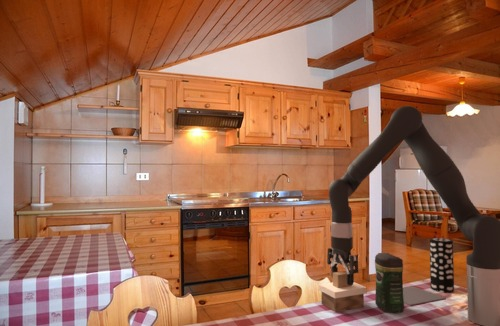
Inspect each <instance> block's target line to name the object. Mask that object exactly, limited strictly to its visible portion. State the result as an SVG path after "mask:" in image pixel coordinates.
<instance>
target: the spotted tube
mask: <svg viewBox="0 0 500 326" xmlns="http://www.w3.org/2000/svg"><path fill="white" fill-rule="evenodd" d="M429 273H430V276H429V277H430V278H429V279H430V280H429V281H430V289H431V290H432V291H435V292H439V293H444V294H445V293H446V294H450V293H451V294H452V293H454V292H455V269H454V240H453V239H450V238H444V237H430V238H429Z"/></svg>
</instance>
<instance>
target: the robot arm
mask: <svg viewBox="0 0 500 326" xmlns="http://www.w3.org/2000/svg"><path fill="white" fill-rule="evenodd" d="M389 119H390V120H389V121H388V123H387V125H386V126H385V127H384V128H383V130H382V131H381V133H379V135H377V137H376V138H375V139H374V140H373V141H372V142H371V143H370V144H369V145H368V146H367V147H366V148H364V149H363V150H362V151H361V152H360V153H359V154H358V156H356V157H355V158H354V160H353V161H352V162H351V163H350V164H349V166H348V167H347V169H346V172H345V173H344V175H343V176H341V178H336V179H334V180H332V181H331V182H330V184H329V187H328V199H329V204H330V208H331V225H330V248H327V261H326V262H327V265H329V266H330V270H331V278H332V279H333V273H334V272H339V271H338V269H339V268H338V266H339V265H342V268H344V269H345V271H347V285H353V283H354V282H355V281H354V280H355V279H354V278H355V277H354V276H355V274H359V257H358V255H357V254H352V249H353V248H354V242H353V241H354V234H353V233H354V232H353V231H354V230H353V229H354V228H353V212H352V208H351V207H350V204H349V198H350V196H351V195H353V194H354V193H355V192H356V191H357V189H358V188H359V187H360V185H361V184H362V182H363V181H364V180H365V179H366V178H368V177H369V175H370V174H371V173H372V172H373V171H374V170H375V169H376V168H377V166H379V164H380V163H382V161H383V160H384V159H385V158H386V157H387V156H388V154H389V153H390V152H391V151H392V150H394V148H396V147H397V146H398V145H399V144H400V143H402V142H403V141H404V142H405V143H406V144H407V146H408V147H409V148H410V150H411V152H412V153H413V155H414V158H415V159H416V161H417V163H418V166H419V167H420V169H421V171H422V173H423V174H424V176H425V177H426V179H427V180H428V182H429V183H430V184H431V186H432V187H433V188H434V190H435V192H436V193H437V195H438V196H439V197H440V199H441V200H442V202H444V204H445V205H446V207H447V208H448V210H449V211H450V213H451V215H452V217H453V219H454V220H455V222H456V224H457V226H458V228H459V230H460V231H461V233H462V235H463V236H464V237H465V238H466V239H467V240H469V241H471V242H472V252H471V253H469V254H467V255H466V257H465V259H466V260H465V261H466V292H467V293H466V294H467V319H468V320H469V321H470V322H472V323H475V324H477V325H480V326H500V219H498V218H497V217H495V216H492V215H487V214H482V213H481V212H480V210H478V208H477V207H476V206H475V205H474V203H473V202H472V200H471V198H470V196H469V195H468V191H467V186H466V182H465V179H464V176H463V174H462V172H461V171H460V169H459V168H458V166H457V165H456V163H455V162H454V161H453V159H452V158H451V157H450V156H449V155H448V154H447V152H446V151H445V150H444V149H443V148H442V147H441V145H439V144H438V142H436V141H435V139H434V138H433V137H432V136H431V135H430V133H429V131H428V130H427V127H426V126H425V124H424V123H423V115H422V114H421V111H420V110H419V109H418V108H417V107H414V106H412V105H411V106H410V105H404V106H400V107H398V108H396V109H394V111H393V112H392V114H391V116H390V118H389Z"/></svg>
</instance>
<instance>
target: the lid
mask: <svg viewBox="0 0 500 326" xmlns="http://www.w3.org/2000/svg"><path fill="white" fill-rule="evenodd" d="M318 291H320V292H321V293H322V292H324V293H326V294H327V295H329V296H331V297H333V298H341V297H347V296H353V295H359V294H367V287H366V286H365V285H363V284H359V283H356V282H355V281H354V283H353V285H347V271H346V270H345V271H344V270H343V271H338V272H334V273H333V278H332V282H324V283H319V284H318Z"/></svg>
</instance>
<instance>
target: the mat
mask: <svg viewBox="0 0 500 326" xmlns="http://www.w3.org/2000/svg"><path fill="white" fill-rule="evenodd" d="M403 299H404V305H407V306H410V307H411V306H417V305H422V304H426V303H433V302H436V301H442V300H446V299H447V297H445V296H442V295H439V294H436V293H433V292H431V291H427V290H426V289H421V288H418V287H416V286H413V285H411V286H405V287H403Z"/></svg>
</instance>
